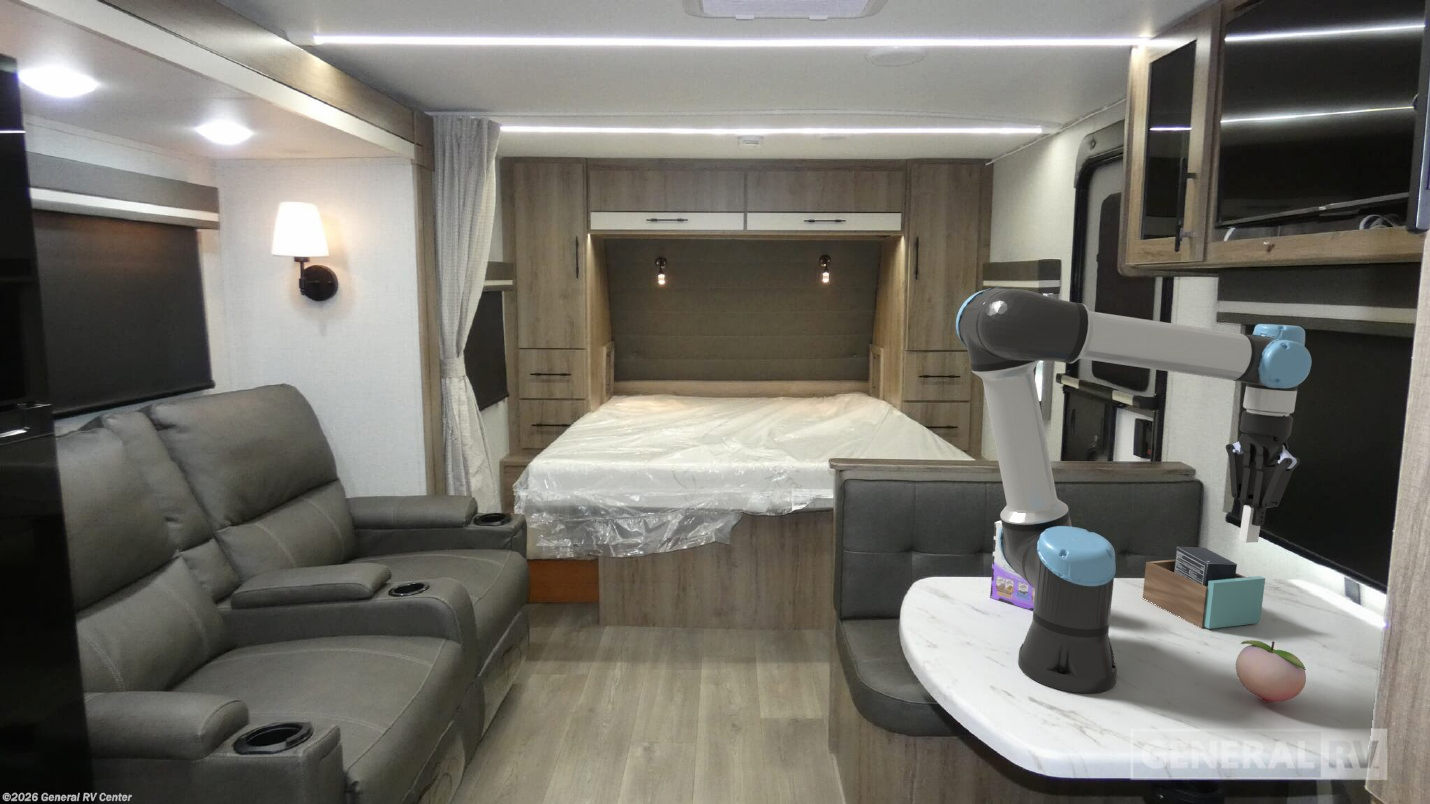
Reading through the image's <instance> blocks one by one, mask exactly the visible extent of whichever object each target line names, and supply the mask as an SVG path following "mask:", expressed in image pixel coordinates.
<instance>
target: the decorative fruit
mask: <svg viewBox="0 0 1430 804" xmlns="http://www.w3.org/2000/svg"><path fill="white" fill-rule="evenodd" d="M1240 644H1242V645H1245V644H1248V645H1247V646H1246V647H1243V648H1242V650H1240V652H1239V654H1238V655H1237V657H1236V661H1235V671H1236V675H1237V678H1238V681H1239V682H1240V684H1241V686H1243V687H1244V688H1245V689H1246V690H1247V691H1248V692H1249V693H1251V694H1252V695H1254V696H1256V697H1258V698H1260V699H1261V701H1262V700H1263V702H1265V703H1280V702H1281V703H1282V702H1287V701H1290V700H1291V699H1294V698H1296V696H1298V695H1299V694H1301V692H1302V691H1303V690H1304V688H1305V686H1306V681H1307V675H1306V667H1305V665H1304V664H1303V662H1302V660H1300V659H1299V657H1297V656H1296V655H1295V654H1293V653H1291V652H1289V651H1286V650H1281V649H1275V648H1274V647H1275V641H1272V642H1271V646H1270V645H1269V644H1267V643H1265V642H1263V641H1261V640H1255V639H1254V640H1253V639H1252V640H1251V639H1249V640H1248V639H1247V640H1244V641H1241V642H1240Z"/></svg>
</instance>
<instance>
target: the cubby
mask: <svg viewBox="0 0 1430 804" xmlns="http://www.w3.org/2000/svg"><path fill="white" fill-rule="evenodd" d="M1174 567H1175V559H1166V560H1154V561H1146V562H1145V570H1144V571H1145V572H1144V579H1143V589H1142V599H1143V598H1144V599H1146V600H1148V601H1150V602H1152V603H1153V604H1152V603H1151V604H1152V605H1154V604H1156V605H1157V606H1156V605H1155V606H1156V607H1158V606H1159V607H1158V608H1160V607H1161V608H1160V609H1162V610H1164V609H1166V610H1167V611H1166V610H1165V611H1166V612H1168V611H1169V612H1168V613H1170V612H1171V613H1170V614H1172V615H1174V614H1175V615H1174V616H1176V615H1177V616H1176V617H1178V616H1180V617H1181V619H1182V618H1183V619H1182V620H1184V619H1185V620H1184V621H1186V622H1188V621H1189V622H1188V623H1190V624H1192V623H1193V624H1192V625H1194V626H1196V625H1197V626H1196V627H1198V626H1199V627H1198V628H1201V629H1204V628H1205V629H1206V627H1204V617H1205V609H1206V600H1207V591H1208V587H1206V586H1204V585H1202V584H1199V583H1197V582H1195V581H1193V580H1190V579H1188V578H1186V577H1183V576H1181V575H1179V574H1176V573H1174ZM1245 577H1246V576H1244V575H1241V574H1239V573H1237V572H1236V576H1235V578H1245ZM1144 599H1143V600H1144ZM1146 600H1145V601H1146ZM1148 601H1147V602H1148ZM1150 602H1149V603H1150ZM1180 617H1179V618H1180Z"/></svg>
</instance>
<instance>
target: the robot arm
mask: <svg viewBox="0 0 1430 804" xmlns="http://www.w3.org/2000/svg"><path fill="white" fill-rule="evenodd" d="M955 319H956V320H955V329H956V333H957V336H958V338H959V340H960V342H961V343H962V345H963V346H964V347H965V348H966V349H967V354H968V359H969V363H970V365H969V366H970V369H971V372H972V373H973V374H974V375H976V376H978V377H979V378H980V379H982V383H983V388H984V393H985V394H984V395H985V400H986V404H987V410H988V415H989V419H990V424H991V431H992V435H993V441H994V444H995V445H994V446H995V451H996V456H997V461H998V466H999V472H1000V476H1001V481H1002V487H1003V492H1004V496H1005V501H1006V505H1005V506H1004V508H1003V509H1002V511H1000V516H999V517H1000V520H1001V522H1002V527H1001V529H1000V532H999V547H1000V550H1001V553H1002V555H1003V557H1004V559H1005V560H1006V562H1007V563H1008V564H1009V566H1010V567H1011V568H1012V569H1013V570H1014V571H1015V572H1016V573H1018V574H1019V575H1020V576H1021V577H1022V578H1024V579H1025V580H1026V581H1027V582H1028V583H1029V584H1030V585H1031V586H1032V587H1033V588H1034V589H1035V596H1034V608H1033V610H1032V621H1031V624H1030V626H1029V628H1028V631H1027V632H1026V636H1025V638H1024V639H1023V640H1024V641H1023V643H1021V646H1020V647H1019V650H1018V660H1017V663H1018V667H1019V669H1020V670H1021V672H1023V674H1025V675H1026V676H1027V677H1029V678H1030V679H1032V680H1034V681H1035V682H1038V683H1040V684H1042V685H1045V686H1047V687H1051V688H1054V689H1057V690H1061V691H1067V692H1072V693H1081V694H1095V693H1102V692H1106V691H1109V690H1111V689H1112V688H1113V687H1115V685H1116V683H1117V677H1118V676H1117V675H1118V673H1117V672H1118V667H1117V664H1116V663H1117V662H1116V660H1115V656H1114V652H1113V648H1112V644H1111V641H1110V640H1111V639H1110V637H1109V632H1110V629H1109V628H1110V621H1111V611H1112V603H1113V602H1112V601H1113V590H1114V580H1115V575H1116V571H1117V570H1116V569H1117V568H1116V566H1117V564H1116V552H1115V551H1116V550H1115V549H1114V546H1113V545H1112V543H1110V541H1109V540H1107V539H1106V538H1105V537H1104V536H1102V535H1100V534H1098V533H1096V532H1094V531H1088V530H1087V529H1084V528H1081V527H1076V526H1072V521H1071V517H1070V510H1069V506H1068V505H1067V504H1066V503H1065V502H1064V501H1062V500H1060V499H1059V498H1058V495H1057V490H1056V485H1055V481H1054V475H1053V474H1054V473H1053V469H1052V465H1051V464H1052V463H1051V458H1050V453H1049V448H1048V441H1047V437H1046V432H1045V426H1044V421H1043V416H1042V409H1041V405H1040V404H1041V403H1040V399H1039V393H1038V388H1037V383H1036V377H1035V372H1034V369H1035V368H1036V366H1037V365H1038V363H1040V362H1041V361H1043V362H1058V363H1064V364H1074V363H1075V362H1077V361H1078V360H1079V359H1083V360H1090V361H1094V362H1095V361H1096V362H1103V363H1109V364H1115V365H1122V366H1123V365H1124V366H1130V367H1137V368H1143V369H1151V370H1152V369H1153V370H1158V371H1165V372H1173V373H1178V374H1186V375H1192V376H1199V377H1206V378H1212V379H1213V378H1214V379H1221V380H1227V381H1234V382H1238V383H1239V382H1240V383H1244V384H1245V383H1246V386H1245V392H1244V397H1243V403H1242V407H1243V408H1244V409H1246V410H1244V411H1242V413H1241V418H1240V419H1241V420H1240V424H1239V425H1240V426H1239V430H1240V432H1242V433H1241V435H1240V436H1239V438H1238V441H1237V442H1234V443H1231V444H1230V443H1227V444H1226V445H1225V450H1226V453H1227V454H1228V455H1227V456H1228V461H1229V475H1230V490H1231V491H1230V492H1231V493H1230V494H1231V497H1232V498H1234V499H1236V500H1238V501H1239V503H1240V508H1239V509H1240V510H1239V516H1238V518H1239V519H1238V520H1239V521H1241V523H1240V531H1239V537H1238V541H1241V542H1243V543H1246V544H1247V543H1249V544H1250V543H1258V542H1259V537H1260V536H1259V535H1260V532H1261V531H1260V530H1261V527H1262V526H1264V524H1265V519H1266V513H1267V512H1266V511H1267V509H1268V508H1278V507H1279V506H1280V504H1281V503H1280V502H1281V500H1282V498H1283V496H1284V494H1285V491H1286V488H1287V486H1288V484H1289V481H1290V479H1291V478H1292V477H1291V476H1292V473H1293V472H1294V470H1295V469H1296V468H1297V467H1298V466H1299V465H1300V464H1301V460H1300V458H1299V457H1294V456H1293V455H1292V454H1291V453H1290V452H1289V446H1288V438H1289V437H1291V434H1292V430H1293V429H1292V428H1293V423H1294V417H1293V416H1292V415H1290V414H1293V413H1294V412H1295V407H1296V401H1297V395H1298V389H1299V388H1298V387H1299V385H1300V384H1301V383H1303V382H1304V381H1305V380H1306V379H1307V377H1308V375H1309V374H1310V371H1311V367H1312V356H1311V354H1310V351H1309V350H1308V349H1307V347H1305V344H1306V331H1305V329H1304V328H1303V327H1301V326H1299V325H1288V324H1286V325H1285V324H1271V323H1267V324H1266V323H1258V324H1256V325H1255V327H1254V328H1253V329H1254V330H1253V332H1252V334H1243V333H1238V332H1232V331H1225V330H1218V329H1210V328H1205V327H1204V328H1203V327H1197V326H1191V325H1185V324H1177V323H1171V322H1164V321H1159V320H1157V321H1156V320H1151V319H1143V318H1137V317H1131V316H1124V315H1119V314H1117V315H1116V314H1110V313H1105V312H1104V313H1103V312H1096V311H1091V310H1089V308H1088V307H1087V305H1086V304H1084V303H1082V302H1081V303H1080V302H1073V301H1068V300H1063V299H1059V298H1055V297H1051V296H1049V295H1044V294H1041V293H1039V292H1036V291H1035V292H1034V291H1030V290H1027V289H1020V288H1004V287H994V288H993V287H992V288H987V289H983V290H980V291H978V292H974V293H973V294H972V295H971V296H969V297H968V298H967V299H966V300H965V301H964V302H963V304H962V305H961V307H960V308H959V310H958V313H957V315H956V318H955Z"/></svg>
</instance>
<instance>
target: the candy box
mask: <svg viewBox="0 0 1430 804" xmlns="http://www.w3.org/2000/svg"><path fill="white" fill-rule="evenodd" d="M993 525H994V528H993V529H994V532H993V544H992V545H993V547H992V548H993V550H992V564H991V581H990V594H989V598H990V599H993V600H996V601H1000V602H1003V603H1007V604H1010V605H1013V606H1016V607H1020V608H1023V609H1027V610H1030V611H1033V608H1034V596H1035V589H1034V588H1033V587H1032V586H1031V585H1030V584H1029V583H1028V582H1027V581H1026V580H1025V579H1024V578H1022V577H1021V576H1020V575H1019V574H1018V573H1016V572H1015V571H1014V570H1013V569H1012V568H1011V567H1010V566H1009V564H1008V563H1007V562H1006V560H1005V559H1004V557H1003V555H1002V553H1001V550H1000V547H999V532H1000V529H1001V527H1002V522H1001V519H1000V520H998V521H995V522H994V524H993Z"/></svg>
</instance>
